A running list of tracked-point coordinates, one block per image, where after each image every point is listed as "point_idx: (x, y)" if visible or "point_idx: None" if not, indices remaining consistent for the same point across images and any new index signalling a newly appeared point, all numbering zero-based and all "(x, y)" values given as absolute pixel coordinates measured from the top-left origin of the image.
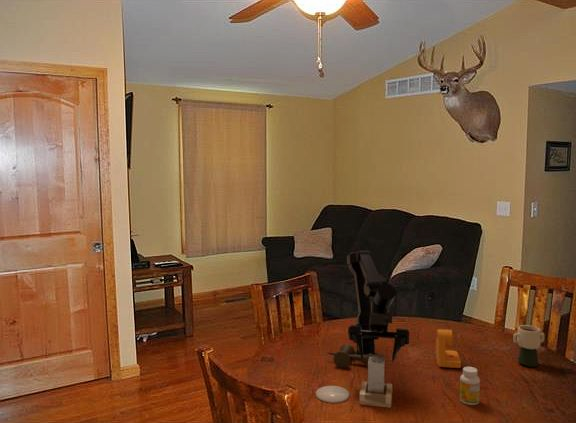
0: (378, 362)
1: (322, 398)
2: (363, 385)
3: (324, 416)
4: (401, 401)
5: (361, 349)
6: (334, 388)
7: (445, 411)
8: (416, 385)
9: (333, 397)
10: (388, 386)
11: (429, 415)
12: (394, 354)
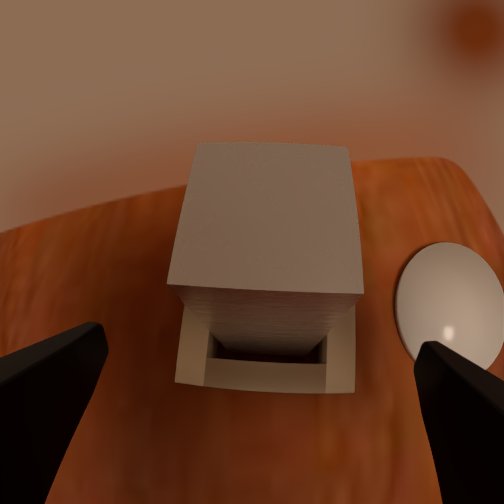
0: (246, 154)
1: (474, 255)
2: (344, 336)
3: (425, 166)
4: (155, 310)
5: (488, 389)
6: (462, 354)
7: (38, 256)
8: (80, 462)
9: (446, 270)
10: (198, 347)
11: (87, 222)
12: (43, 346)
